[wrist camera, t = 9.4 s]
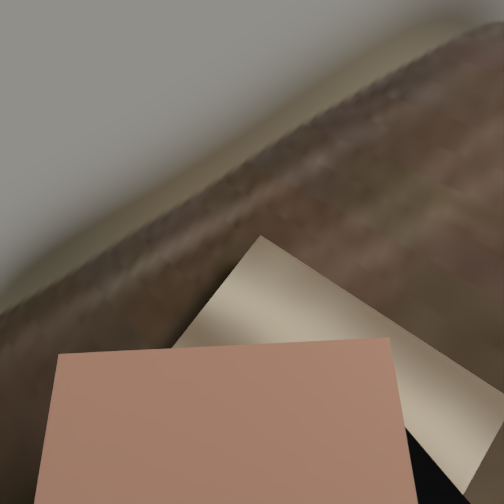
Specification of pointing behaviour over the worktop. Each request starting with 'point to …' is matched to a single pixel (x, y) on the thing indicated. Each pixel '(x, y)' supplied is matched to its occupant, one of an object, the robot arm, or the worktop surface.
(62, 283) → the worktop surface
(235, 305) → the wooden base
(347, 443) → the terracotta block
